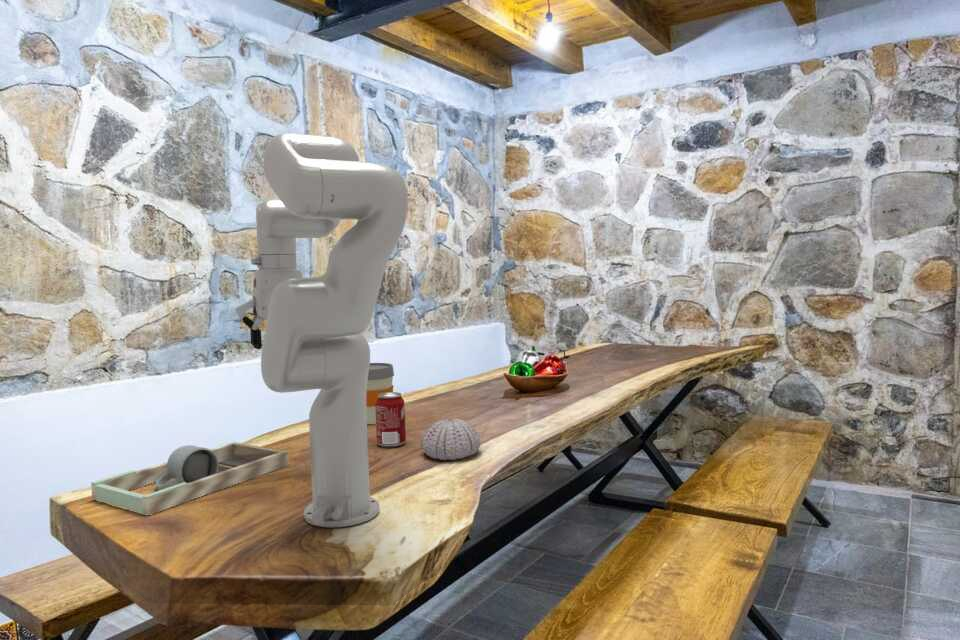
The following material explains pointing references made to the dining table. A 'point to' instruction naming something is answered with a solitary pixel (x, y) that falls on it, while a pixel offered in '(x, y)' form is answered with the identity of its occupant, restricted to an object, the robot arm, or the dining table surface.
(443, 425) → the sea urchin shell
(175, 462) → the ceramic mug
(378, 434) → the soda can
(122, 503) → the shallow mint tray
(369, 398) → the reusable coffee cup
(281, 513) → the dining table surface
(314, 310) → the robot arm
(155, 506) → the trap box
